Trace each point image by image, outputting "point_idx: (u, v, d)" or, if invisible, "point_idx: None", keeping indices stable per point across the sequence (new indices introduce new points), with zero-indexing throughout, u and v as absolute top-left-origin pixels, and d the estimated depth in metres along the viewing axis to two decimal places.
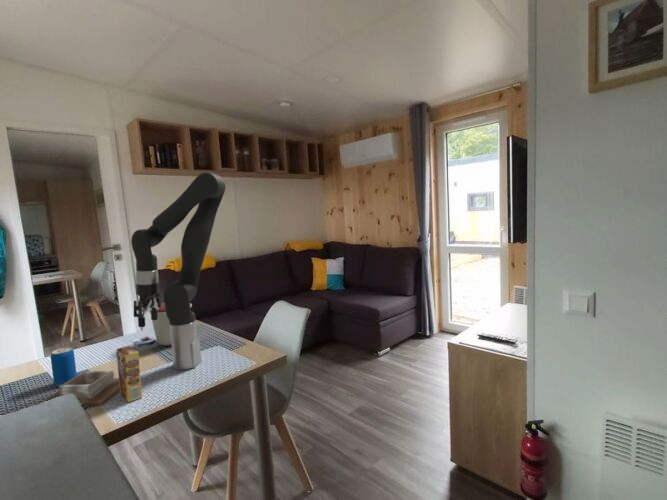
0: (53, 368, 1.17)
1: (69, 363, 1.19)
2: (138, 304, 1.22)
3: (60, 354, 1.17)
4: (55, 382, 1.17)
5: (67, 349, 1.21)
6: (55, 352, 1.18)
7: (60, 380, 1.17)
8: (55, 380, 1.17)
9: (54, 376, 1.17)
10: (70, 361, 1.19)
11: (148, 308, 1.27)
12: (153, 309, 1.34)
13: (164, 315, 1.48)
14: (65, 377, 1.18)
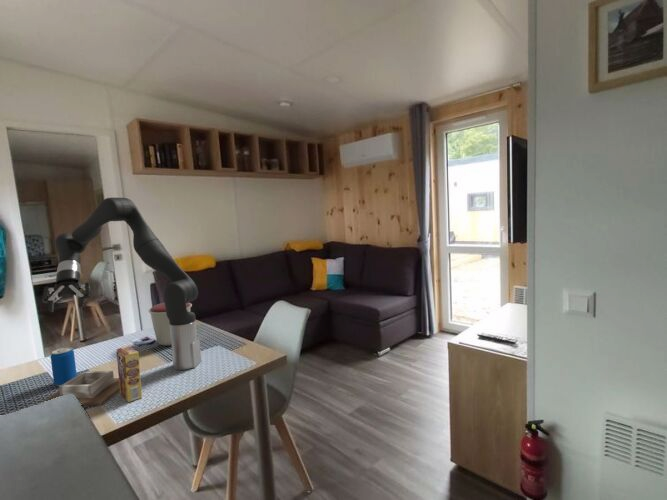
0: (53, 368, 1.17)
1: (69, 363, 1.19)
2: None
3: (60, 354, 1.17)
4: (55, 382, 1.17)
5: (67, 349, 1.21)
6: (55, 352, 1.18)
7: (60, 380, 1.17)
8: (55, 380, 1.17)
9: (54, 376, 1.17)
10: (70, 361, 1.19)
11: (57, 292, 1.27)
12: None
13: (164, 315, 1.48)
14: (65, 377, 1.18)
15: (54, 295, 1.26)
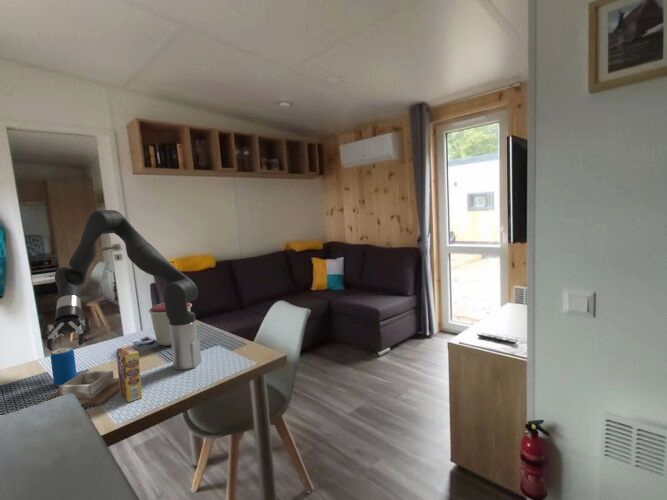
0: (53, 368, 1.17)
1: (69, 363, 1.19)
2: None
3: (60, 354, 1.17)
4: (55, 382, 1.17)
5: (67, 349, 1.21)
6: (55, 352, 1.18)
7: (60, 380, 1.17)
8: (55, 380, 1.17)
9: (54, 376, 1.17)
10: (70, 361, 1.19)
11: (57, 330, 1.25)
12: None
13: (164, 315, 1.48)
14: (65, 377, 1.18)
15: (54, 333, 1.25)
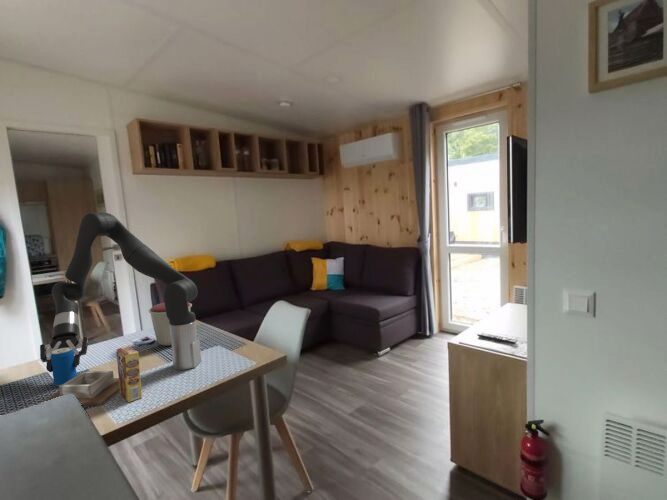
0: (53, 368, 1.17)
1: (69, 363, 1.19)
2: None
3: (60, 354, 1.17)
4: (55, 382, 1.17)
5: (67, 349, 1.21)
6: (55, 352, 1.18)
7: (60, 380, 1.17)
8: (55, 380, 1.17)
9: (54, 376, 1.17)
10: (70, 361, 1.19)
11: None
12: None
13: (164, 315, 1.48)
14: (65, 377, 1.18)
15: None
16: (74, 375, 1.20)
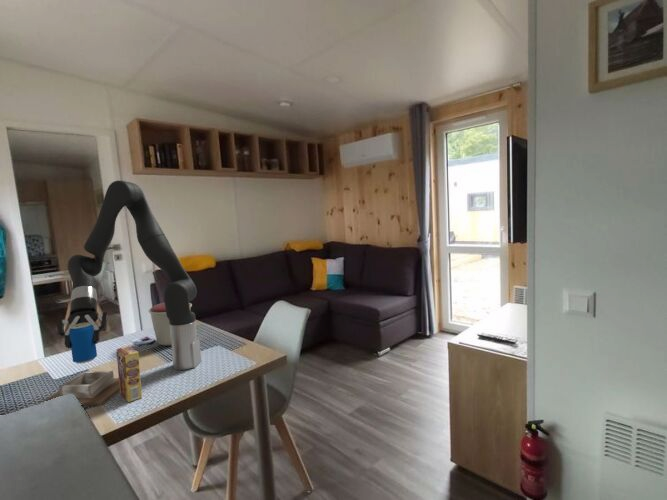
0: (72, 344, 1.08)
1: (89, 338, 1.10)
2: None
3: (79, 328, 1.08)
4: (74, 359, 1.09)
5: (86, 324, 1.12)
6: (73, 326, 1.10)
7: (80, 357, 1.09)
8: (74, 357, 1.09)
9: (73, 352, 1.09)
10: (89, 336, 1.10)
11: None
12: None
13: (164, 315, 1.48)
14: (85, 353, 1.09)
15: None
16: (94, 352, 1.12)
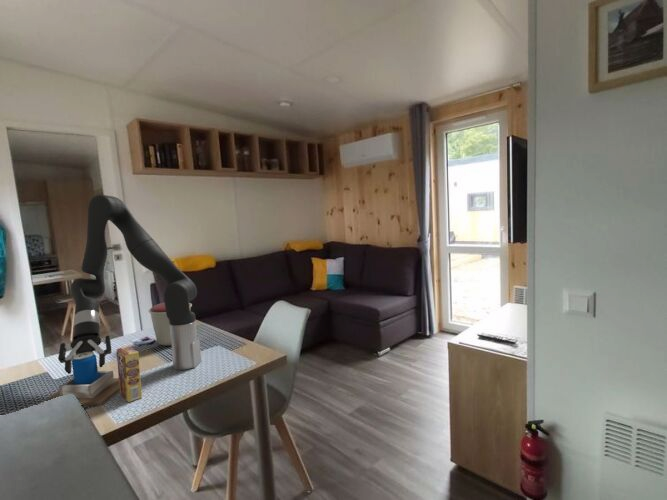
0: (75, 374, 1.09)
1: (92, 368, 1.11)
2: None
3: (82, 359, 1.09)
4: None
5: (89, 354, 1.13)
6: (76, 357, 1.11)
7: None
8: None
9: (76, 383, 1.09)
10: (92, 367, 1.11)
11: (75, 350, 1.12)
12: None
13: (164, 315, 1.48)
14: (88, 383, 1.10)
15: (72, 353, 1.11)
16: None
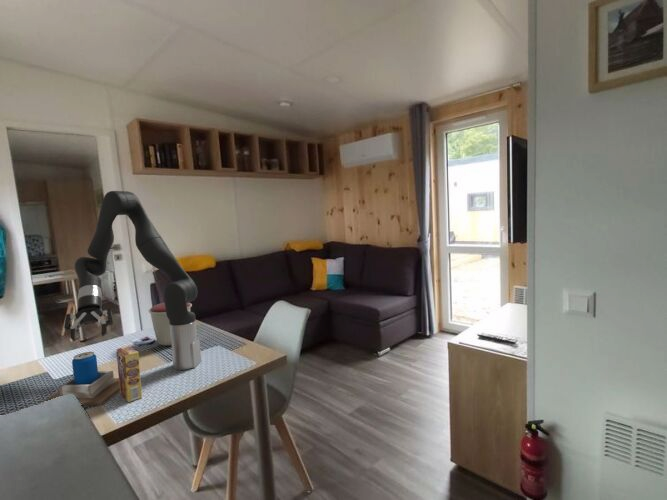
0: (75, 374, 1.09)
1: (92, 368, 1.11)
2: (66, 317, 1.23)
3: (82, 359, 1.09)
4: None
5: (89, 354, 1.13)
6: (76, 357, 1.11)
7: None
8: None
9: (76, 383, 1.09)
10: (92, 366, 1.11)
11: (79, 320, 1.22)
12: None
13: (164, 315, 1.48)
14: (88, 383, 1.10)
15: (76, 323, 1.22)
16: None
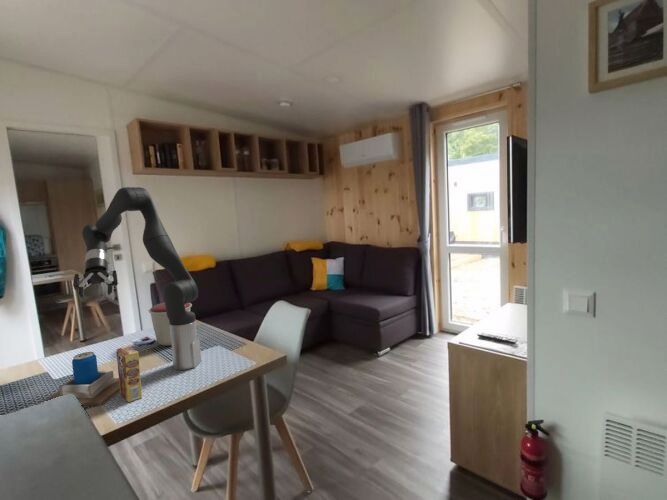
0: (75, 374, 1.09)
1: (92, 368, 1.11)
2: None
3: (82, 359, 1.09)
4: None
5: (89, 354, 1.13)
6: (76, 357, 1.11)
7: None
8: None
9: (76, 383, 1.09)
10: (92, 367, 1.11)
11: (87, 279, 1.31)
12: None
13: (164, 315, 1.48)
14: (88, 383, 1.10)
15: (84, 282, 1.31)
16: None
